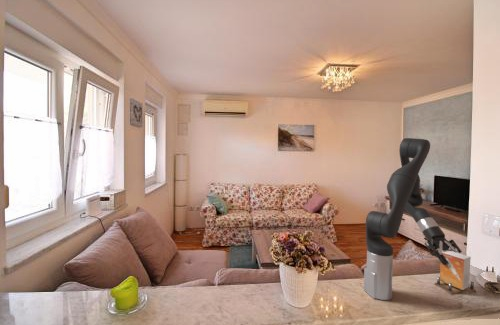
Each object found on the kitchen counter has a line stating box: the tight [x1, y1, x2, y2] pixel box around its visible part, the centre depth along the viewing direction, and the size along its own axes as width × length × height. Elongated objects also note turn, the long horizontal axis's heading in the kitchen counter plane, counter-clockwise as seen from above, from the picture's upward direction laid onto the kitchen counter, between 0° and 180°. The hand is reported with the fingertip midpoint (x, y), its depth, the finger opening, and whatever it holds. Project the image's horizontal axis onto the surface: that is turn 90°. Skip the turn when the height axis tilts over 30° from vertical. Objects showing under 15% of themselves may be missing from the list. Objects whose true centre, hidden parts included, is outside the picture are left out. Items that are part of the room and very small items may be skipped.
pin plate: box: [434, 276, 477, 295], centre depth 99 cm, size 12×7×4 cm, turn 99°
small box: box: [439, 250, 472, 290], centre depth 99 cm, size 8×6×13 cm
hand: (454, 264), depth 99 cm, fingers closed on small box, 7 cm apart
